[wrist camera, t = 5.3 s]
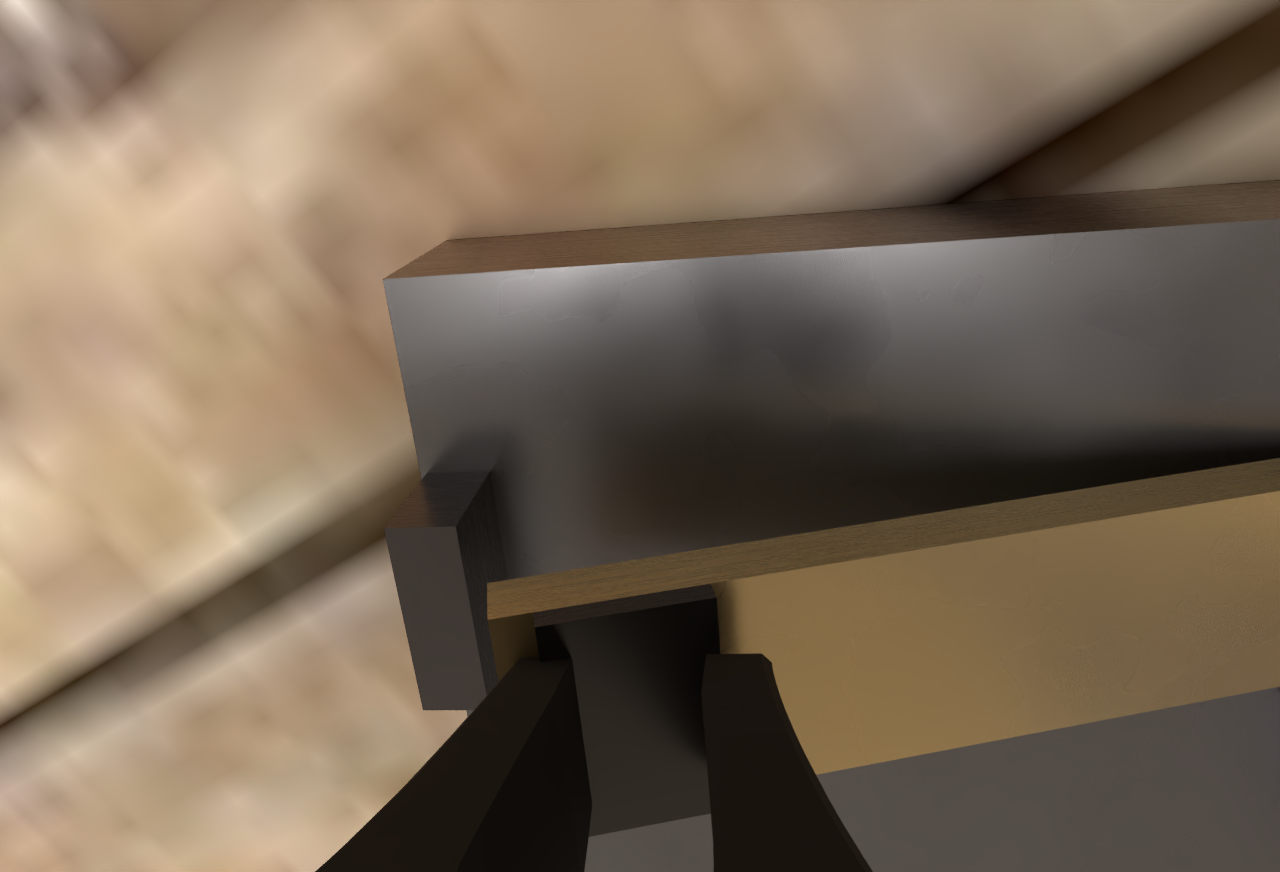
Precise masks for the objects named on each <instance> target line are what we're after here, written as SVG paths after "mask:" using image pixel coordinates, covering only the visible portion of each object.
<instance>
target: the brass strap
mask: <svg viewBox="0 0 1280 872" xmlns="http://www.w3.org/2000/svg"><path fill="white" fill-rule="evenodd" d="M487 618H488V625H489V631H490V637H491V642H492V648H493V654H494V660H495V665H496V671H497V677H498V682H499V681H500V680H501V678H502V677H503V676H504V675H505V674H506V673H507V672H508V671H509V670H510V669H511V667H512V666H513V665H514V664H515V663H516V662H517V661H518V660H519V659H520V658H521V657H539V659H540V662H545V661H555V660H565V659H572V662H573V669H574V676H575V683H576V690H577V698H578V705H579V712H580V719H581V726H582V733H583V741H584V748H585V755H586V762H587V769H588V776H589V784H590V791H591V798H592V812H591V821H590V829H589V837H591V836H597V835H602V834H607V833H612V832H617V831H623V830H628V829H633V828H638V827H643V826H649V825H654V824H659V823H664V822H669V821H675V820H680V819H685V818H690V817H695V816H701V815H706V814H711V810H710V798H709V785H708V772H707V759H706V747H705V734H704V721H703V709H702V696H701V691H702V682H703V673H704V666H705V659H706V654H753V653H762V654H763V655H764V656H765V657H766V658H768V659H769V660H770V661H771V662H772V667H773V672H774V676H775V680H776V684H777V687H778V690H779V693H780V696H781V699H782V702H783V704H784V707H785V710H786V712H787V715H788V717H789V719H790V722H791V724H792V726H793V729H794V731H795V733H796V736H797V738H798V740H799V742H800V744H801V746H802V748H803V750H804V753H805V755H806V756H807V758H808V760H809V762H810V764H811V766H812V768H813V770H814V772H815V774H816V775H817V774H823V773H828V772H833V771H838V770H844V769H849V768H854V767H860V766H865V765H870V764H875V763H881V762H886V761H891V760H896V759H902V758H907V757H912V756H917V755H923V754H928V753H933V752H938V751H944V750H949V749H954V748H960V747H965V746H970V745H975V744H981V743H986V742H991V741H996V740H1002V739H1007V738H1012V737H1017V736H1023V735H1028V734H1033V733H1038V732H1044V731H1049V730H1054V729H1059V728H1065V727H1070V726H1075V725H1081V724H1086V723H1091V722H1096V721H1102V720H1107V719H1112V718H1117V717H1123V716H1128V715H1133V714H1138V713H1144V712H1149V711H1154V710H1159V709H1165V708H1170V707H1175V706H1181V705H1186V704H1191V703H1196V702H1202V701H1207V700H1212V699H1217V698H1223V697H1228V696H1233V695H1238V694H1244V693H1249V692H1254V691H1259V690H1265V689H1270V688H1275V687H1280V458H1275V459H1269V460H1263V461H1256V462H1250V463H1244V464H1237V465H1231V466H1225V467H1218V468H1212V469H1206V470H1199V471H1193V472H1187V473H1180V474H1174V475H1168V476H1161V477H1155V478H1149V479H1142V480H1136V481H1130V482H1123V483H1117V484H1111V485H1104V486H1098V487H1092V488H1085V489H1079V490H1073V491H1066V492H1060V493H1054V494H1048V495H1041V496H1035V497H1029V498H1022V499H1016V500H1010V501H1003V502H997V503H991V504H984V505H978V506H972V507H965V508H959V509H953V510H946V511H940V512H934V513H927V514H921V515H915V516H908V517H902V518H896V519H889V520H883V521H877V522H870V523H864V524H858V525H851V526H845V527H839V528H832V529H826V530H820V531H813V532H807V533H801V534H794V535H788V536H782V537H776V538H769V539H763V540H757V541H750V542H744V543H738V544H731V545H725V546H719V547H712V548H706V549H700V550H693V551H687V552H681V553H674V554H668V555H662V556H655V557H649V558H643V559H636V560H630V561H624V562H617V563H611V564H605V565H598V566H592V567H586V568H579V569H573V570H567V571H560V572H554V573H548V574H541V575H535V576H529V577H523V578H516V579H510V580H504V581H497V582H491V583H487Z"/></svg>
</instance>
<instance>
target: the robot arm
mask: <svg viewBox="0 0 1280 872" xmlns="http://www.w3.org/2000/svg"><path fill="white" fill-rule="evenodd" d="M701 696H702V709H703V721H704V734H705V747H706V759H707V772H708V785H709V798H710V810H711V823H712V836H713V859H714V871H713V872H873V871H872V869H871V868H870V866H869V865H868V863H867V862H866V860H865V859H864V857H863V855H862V854H861V852H860V850H859V849H858V847H857V846H856V844H855V842H854V841H853V839H852V837H851V836H850V834H849V833H848V831H847V829H846V828H845V826H844V824H843V823H842V821H841V819H840V818H839V816H838V814H837V812H836V811H835V809H834V807H833V805H832V804H831V802H830V800H829V798H828V797H827V795H826V793H825V791H824V789H823V787H822V785H821V783H820V781H819V779H818V778H817V776H816V774H815V772H814V770H813V768H812V766H811V764H810V762H809V760H808V758H807V756H806V755H805V753H804V750H803V748H802V746H801V744H800V742H799V740H798V738H797V736H796V733H795V731H794V729H793V726H792V724H791V722H790V719H789V717H788V715H787V712H786V710H785V707H784V704H783V702H782V699H781V696H780V693H779V690H778V687H777V684H776V680H775V676H774V672H773V667H772V662H771V661H770V660H769V659H768V658H766V657H765V656H764V655H763V654H762V653H753V654H706V659H705V666H704V673H703V682H702V691H701ZM591 812H592V798H591V791H590V784H589V776H588V769H587V762H586V755H585V748H584V741H583V733H582V726H581V719H580V712H579V705H578V698H577V690H576V683H575V676H574V669H573V662H572V659H565V660H555V661H545V662H540V659H539V657H521V658H520V659H519V660H518V661H517V662H516V663H515V664H514V665H513V666H512V667H511V669H510V670H509V671H508V672H507V673H506V674H505V675H504V676H503V677H502V678H501V680H500V681H499V682H498V683H497V684H496V685H495V686H494V688H493V689H492V690H491V691H490V692H489V693H488V694H487V696H486V697H485V698H484V699H483V700H482V701H481V703H480V704H479V705H478V706H477V707H476V708H475V709H474V711H473V712H472V713H471V714H470V715H469V716H468V717H467V718H466V720H465V721H464V722H463V723H462V724H461V725H460V726H459V728H458V729H457V730H456V731H455V732H454V733H453V734H452V735H451V737H450V738H449V739H448V740H447V741H446V742H445V743H444V744H443V745H442V746H441V747H440V748H439V750H438V751H437V752H436V753H435V754H434V755H433V756H432V757H431V758H430V759H429V760H428V761H427V762H426V764H425V765H424V766H423V767H422V768H421V769H420V770H419V771H418V772H417V773H416V774H415V775H414V776H413V778H412V779H411V780H410V781H409V782H408V783H407V784H406V785H405V786H404V787H403V788H402V789H401V790H400V791H399V792H398V793H397V794H396V795H395V796H394V797H393V798H392V799H391V800H390V801H389V802H388V803H387V804H386V805H385V806H384V807H383V808H382V809H381V810H380V811H379V812H378V813H377V814H376V815H375V816H374V817H373V818H372V819H371V820H370V821H369V822H368V823H367V824H366V825H365V826H364V827H363V828H362V829H361V830H360V831H359V832H357V833H356V834H355V835H354V836H353V837H352V838H351V839H350V840H349V841H348V842H347V843H346V844H345V845H344V846H343V847H342V848H341V849H340V850H339V851H338V852H337V853H336V854H335V855H333V856H332V857H331V858H330V859H329V860H328V861H327V862H326V863H325V864H323V865H322V866H321V867H320V868H319V869H318V870H317V871H316V872H584V870H585V862H586V855H587V847H588V838H589V829H590V821H591Z"/></svg>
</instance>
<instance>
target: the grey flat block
mask: <svg viewBox="0 0 1280 872" xmlns="http://www.w3.org/2000/svg"><path fill="white" fill-rule="evenodd" d="M383 282H384V288H385V293H386V298H387V303H388V308H389V313H390V319H391V324H392V329H393V334H394V339H395V344H396V349H397V355H398V360H399V365H400V370H401V375H402V380H403V386H404V391H405V396H406V401H407V406H408V411H409V416H410V422H411V427H412V432H413V437H414V442H415V447H416V453H417V458H418V463H419V468H420V473H421V478H422V480H421V481H420V483H419V484H418V485H417V486H416V488H415V489H414V490H413V492H412V493H411V494H410V496H409V497H408V498H407V499H406V501H405V502H404V503H403V505H402V506H401V507H400V509H399V510H398V511H397V512H396V514H395V515H394V516H393V518H392V519H391V520H390V521H389V523H388V524H387V525H386V527H385V528H384V531H385V535H386V540H387V545H388V549H389V554H390V559H391V563H392V568H393V573H394V577H395V582H396V586H397V591H398V596H399V600H400V605H401V610H402V614H403V619H404V624H405V628H406V633H407V638H408V642H409V647H410V651H411V656H412V661H413V665H414V670H415V675H416V679H417V684H418V689H419V693H420V698H421V703H422V707H423V710H467V715H468V716H469V715H470V714H471V713H472V712H473V711H474V709H475V708H476V707H477V706H478V705H479V704H480V703H481V701H482V700H483V699H484V698H485V697H486V696H487V694H488V693H489V692H490V691H491V690H492V689H493V688H494V686H495V685H496V684H497V683H498V677H497V671H496V665H495V660H494V654H493V648H492V642H491V637H490V631H489V625H488V618H487V583H491V582H497V581H504V580H510V579H516V578H523V577H529V576H535V575H541V574H548V573H554V572H560V571H567V570H573V569H579V568H586V567H592V566H598V565H605V564H611V563H617V562H624V561H630V560H636V559H643V558H649V557H655V556H662V555H668V554H674V553H681V552H687V551H693V550H700V549H706V548H712V547H719V546H725V545H731V544H738V543H744V542H750V541H757V540H763V539H769V538H776V537H782V536H788V535H794V534H801V533H807V532H813V531H820V530H826V529H832V528H839V527H845V526H851V525H858V524H864V523H870V522H877V521H883V520H889V519H896V518H902V517H908V516H915V515H921V514H927V513H934V512H940V511H946V510H953V509H959V508H965V507H972V506H978V505H984V504H991V503H997V502H1003V501H1010V500H1016V499H1022V498H1029V497H1035V496H1041V495H1048V494H1054V493H1060V492H1066V491H1073V490H1079V489H1085V488H1092V487H1098V486H1104V485H1111V484H1117V483H1123V482H1130V481H1136V480H1142V479H1149V478H1155V477H1161V476H1168V475H1174V474H1180V473H1187V472H1193V471H1199V470H1206V469H1212V468H1218V467H1225V466H1231V465H1237V464H1244V463H1250V462H1256V461H1263V460H1269V459H1275V458H1280V180H1274V181H1261V182H1247V183H1233V184H1219V185H1205V186H1191V187H1178V188H1164V189H1150V190H1136V191H1122V192H1109V193H1095V194H1081V195H1067V196H1053V197H1039V198H1026V199H1012V200H998V201H984V202H970V203H957V204H943V205H929V206H915V207H901V208H888V209H874V210H860V211H846V212H832V213H818V214H805V215H791V216H777V217H763V218H749V219H736V220H722V221H708V222H694V223H680V224H667V225H653V226H639V227H625V228H611V229H597V230H584V231H570V232H556V233H542V234H528V235H515V236H501V237H487V238H473V239H459V240H447V241H445V242H443V243H442V244H440V245H438V246H437V247H435V248H434V249H432V250H430V251H429V252H427V253H425V254H424V255H422V256H420V257H419V258H417V259H415V260H414V261H412V262H410V263H409V264H407V265H406V266H404V267H402V268H401V269H399V270H397V271H396V272H394V273H392V274H391V275H389V276H387V277H386V278H384V279H383ZM816 776H817V778H818V779H819V781H820V783H821V785H822V787H823V789H824V791H825V793H826V795H827V797H828V798H829V800H830V802H831V804H832V805H833V807H834V809H835V811H836V812H837V814H838V816H839V818H840V819H841V821H842V823H843V824H844V826H845V828H846V829H847V831H848V833H849V834H850V836H851V837H852V839H853V841H854V842H855V844H856V846H857V847H858V849H859V850H860V852H861V854H862V855H863V857H864V859H865V860H866V862H867V863H868V865H869V866H870V868H871V869H872V871H873V872H1280V687H1275V688H1270V689H1265V690H1259V691H1254V692H1249V693H1244V694H1238V695H1233V696H1228V697H1223V698H1217V699H1212V700H1207V701H1202V702H1196V703H1191V704H1186V705H1181V706H1175V707H1170V708H1165V709H1159V710H1154V711H1149V712H1144V713H1138V714H1133V715H1128V716H1123V717H1117V718H1112V719H1107V720H1102V721H1096V722H1091V723H1086V724H1081V725H1075V726H1070V727H1065V728H1059V729H1054V730H1049V731H1044V732H1038V733H1033V734H1028V735H1023V736H1017V737H1012V738H1007V739H1002V740H996V741H991V742H986V743H981V744H975V745H970V746H965V747H960V748H954V749H949V750H944V751H938V752H933V753H928V754H923V755H917V756H912V757H907V758H902V759H896V760H891V761H886V762H881V763H875V764H870V765H865V766H860V767H854V768H849V769H844V770H838V771H833V772H828V773H823V774H817V775H816ZM713 871H714V859H713V836H712V823H711V814H706V815H701V816H695V817H690V818H685V819H680V820H675V821H669V822H664V823H659V824H654V825H649V826H643V827H638V828H633V829H628V830H623V831H617V832H612V833H607V834H602V835H597V836H591V837H589V838H588V847H587V855H586V862H585V870H584V872H713Z"/></svg>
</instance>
